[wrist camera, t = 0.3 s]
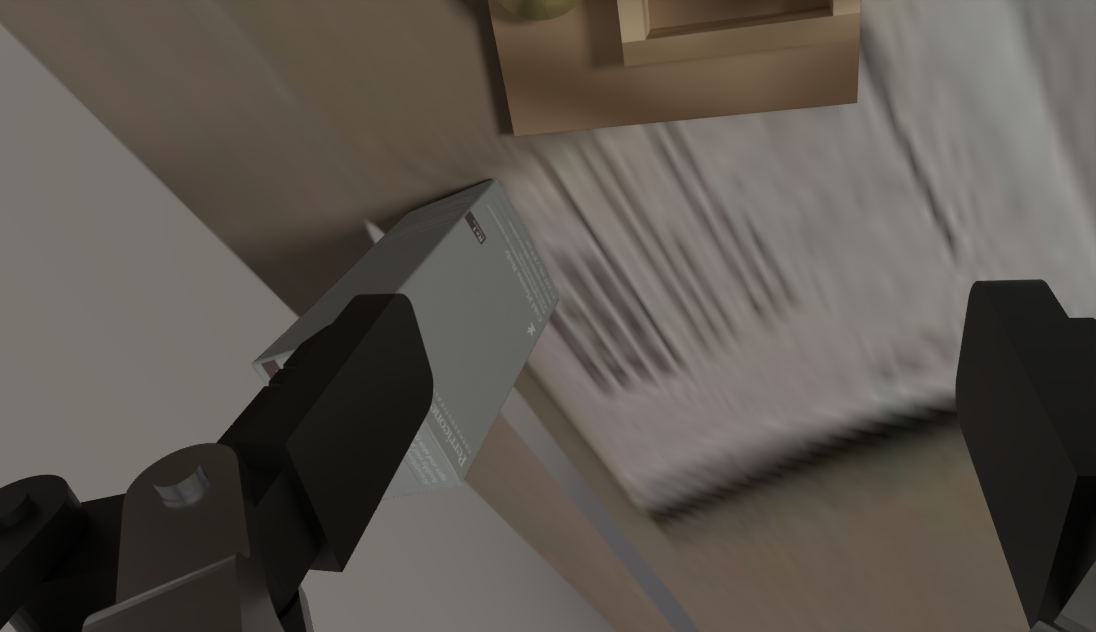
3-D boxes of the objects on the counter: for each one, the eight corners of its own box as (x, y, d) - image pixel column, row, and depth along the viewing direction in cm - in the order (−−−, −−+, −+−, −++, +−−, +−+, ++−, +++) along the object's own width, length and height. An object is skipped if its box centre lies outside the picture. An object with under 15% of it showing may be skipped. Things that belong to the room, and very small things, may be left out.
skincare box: (563, 295, 44) (484, 493, 31) (461, 326, 47) (350, 519, 34) (496, 166, 40) (375, 329, 27) (390, 209, 43) (237, 374, 30)
